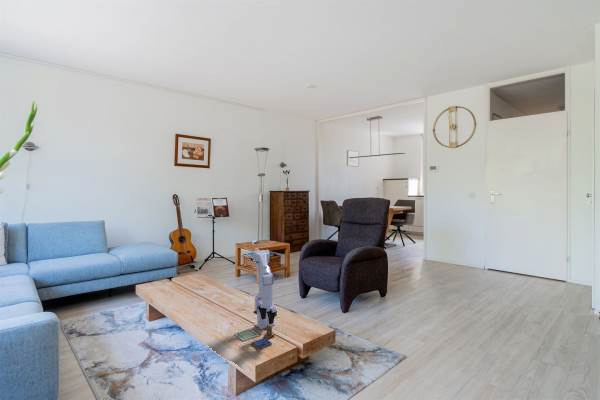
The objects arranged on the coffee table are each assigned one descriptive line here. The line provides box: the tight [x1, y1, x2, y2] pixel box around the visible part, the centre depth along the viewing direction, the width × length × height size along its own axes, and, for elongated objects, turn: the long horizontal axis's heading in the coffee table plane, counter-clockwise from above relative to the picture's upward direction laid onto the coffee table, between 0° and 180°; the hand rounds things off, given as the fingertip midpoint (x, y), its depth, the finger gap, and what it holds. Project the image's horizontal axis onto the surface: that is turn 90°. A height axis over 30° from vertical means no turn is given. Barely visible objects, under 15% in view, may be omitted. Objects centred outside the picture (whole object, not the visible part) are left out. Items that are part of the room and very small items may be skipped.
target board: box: [233, 328, 260, 342], centre depth 178 cm, size 10×10×1 cm
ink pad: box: [250, 337, 273, 350], centre depth 167 cm, size 8×7×1 cm
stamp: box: [263, 325, 276, 340], centre depth 176 cm, size 5×4×6 cm
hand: (267, 321), depth 176 cm, fingers open, 7 cm apart
